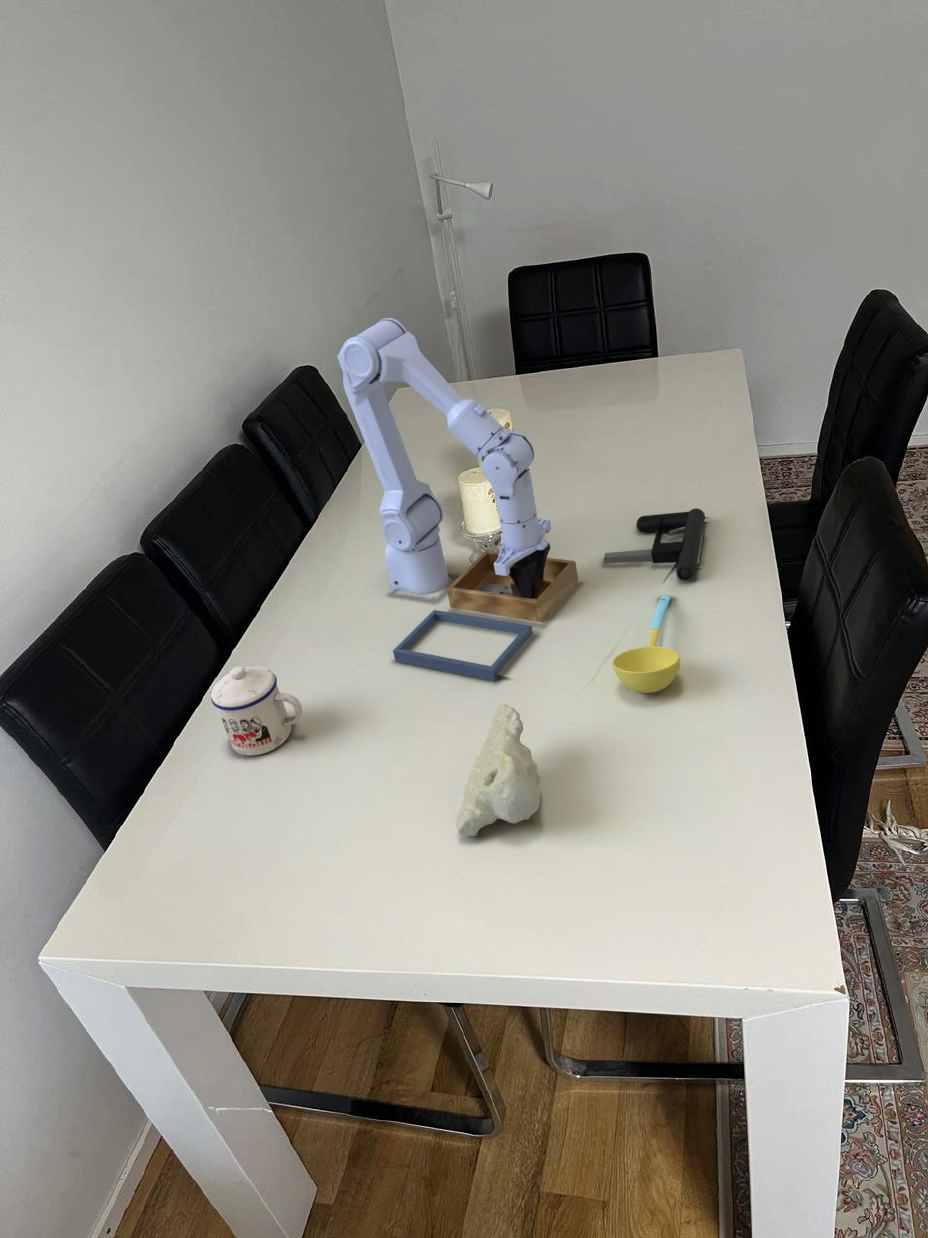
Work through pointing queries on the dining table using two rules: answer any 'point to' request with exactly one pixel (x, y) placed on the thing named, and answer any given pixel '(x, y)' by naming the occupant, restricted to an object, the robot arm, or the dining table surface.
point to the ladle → (649, 660)
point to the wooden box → (507, 605)
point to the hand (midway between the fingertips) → (531, 592)
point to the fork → (515, 588)
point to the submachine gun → (672, 552)
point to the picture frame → (460, 666)
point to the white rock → (500, 778)
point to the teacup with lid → (254, 709)
